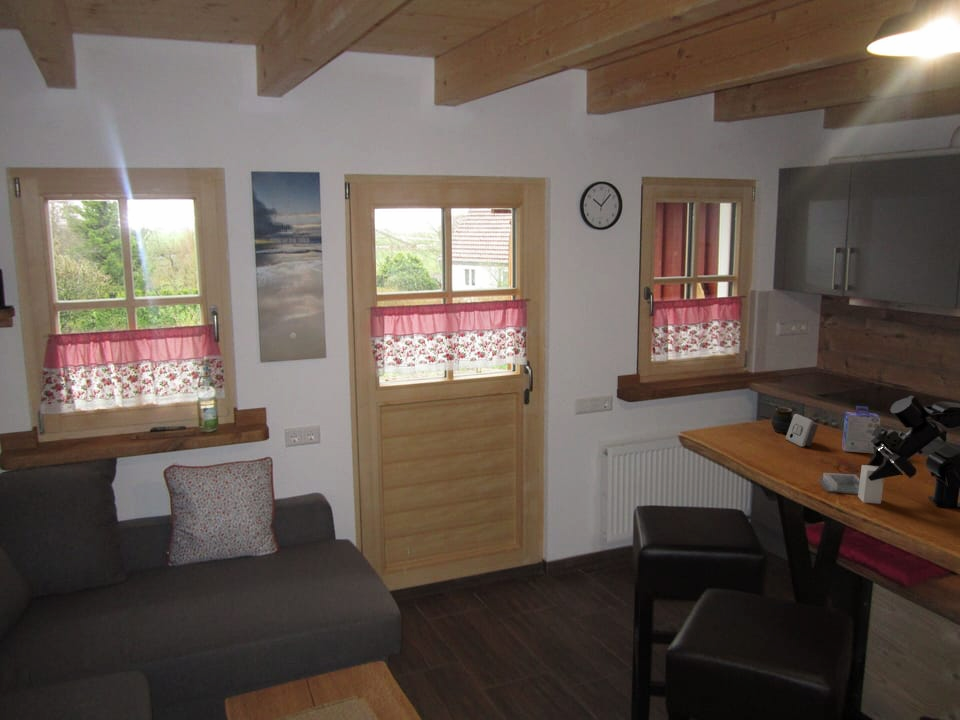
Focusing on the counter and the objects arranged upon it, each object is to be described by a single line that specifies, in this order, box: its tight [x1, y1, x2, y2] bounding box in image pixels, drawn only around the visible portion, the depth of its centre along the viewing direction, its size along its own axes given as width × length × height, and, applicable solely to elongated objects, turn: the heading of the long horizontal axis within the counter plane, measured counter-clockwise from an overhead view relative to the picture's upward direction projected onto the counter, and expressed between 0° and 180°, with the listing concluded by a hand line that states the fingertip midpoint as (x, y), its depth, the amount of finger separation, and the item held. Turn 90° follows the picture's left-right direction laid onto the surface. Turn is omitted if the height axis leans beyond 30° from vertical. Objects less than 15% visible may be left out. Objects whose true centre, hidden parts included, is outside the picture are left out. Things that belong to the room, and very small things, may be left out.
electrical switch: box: [785, 413, 819, 448], centre depth 262 cm, size 9×5×9 cm, turn 13°
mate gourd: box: [771, 404, 793, 434], centre depth 275 cm, size 7×8×10 cm
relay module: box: [857, 464, 886, 505], centre depth 211 cm, size 4×5×9 cm
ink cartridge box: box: [841, 405, 882, 454], centre depth 254 cm, size 10×6×14 cm, turn 79°
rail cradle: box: [817, 472, 860, 495], centre depth 221 cm, size 10×11×2 cm
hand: (866, 476), depth 211 cm, fingers closed on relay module, 4 cm apart
